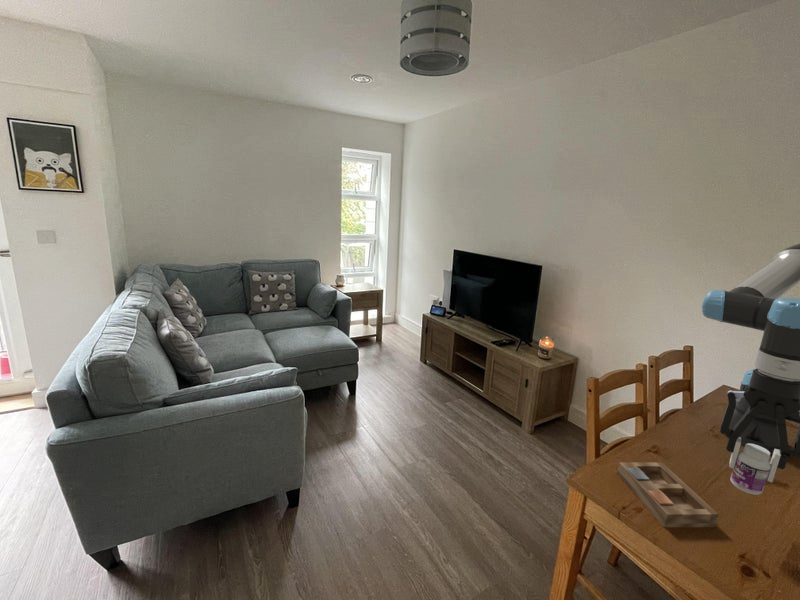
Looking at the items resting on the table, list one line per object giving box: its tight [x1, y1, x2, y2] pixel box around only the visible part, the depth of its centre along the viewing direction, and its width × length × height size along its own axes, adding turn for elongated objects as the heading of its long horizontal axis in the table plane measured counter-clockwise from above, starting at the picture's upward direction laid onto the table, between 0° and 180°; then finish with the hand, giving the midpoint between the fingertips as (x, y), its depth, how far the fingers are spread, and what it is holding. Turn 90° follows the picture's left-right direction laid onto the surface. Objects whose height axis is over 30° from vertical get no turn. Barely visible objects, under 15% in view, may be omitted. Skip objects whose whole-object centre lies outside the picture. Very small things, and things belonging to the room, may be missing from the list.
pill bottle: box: [729, 443, 771, 496], centre depth 79 cm, size 5×5×10 cm
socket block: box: [616, 461, 719, 528], centre depth 91 cm, size 12×18×4 cm
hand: (750, 471), depth 80 cm, fingers closed on pill bottle, 5 cm apart
